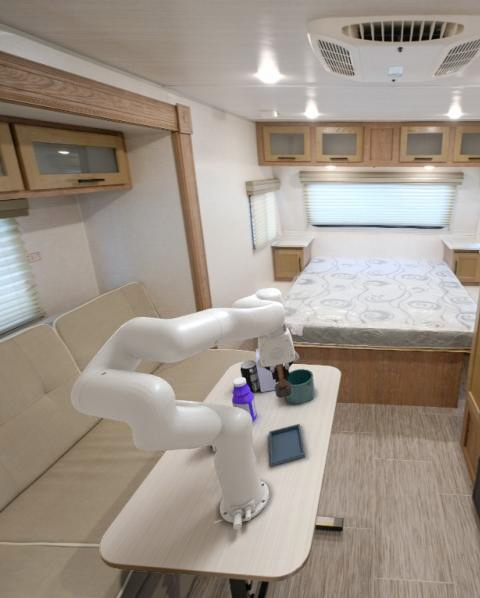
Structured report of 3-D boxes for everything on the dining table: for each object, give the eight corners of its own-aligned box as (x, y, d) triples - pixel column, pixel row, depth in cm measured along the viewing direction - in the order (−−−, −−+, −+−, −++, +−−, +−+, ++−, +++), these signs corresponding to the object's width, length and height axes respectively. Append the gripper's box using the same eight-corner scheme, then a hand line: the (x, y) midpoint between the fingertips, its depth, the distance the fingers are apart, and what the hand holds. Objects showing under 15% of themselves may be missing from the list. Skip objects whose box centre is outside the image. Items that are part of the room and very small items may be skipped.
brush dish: (305, 457, 110) (304, 453, 109) (271, 467, 106) (270, 462, 105) (300, 427, 122) (299, 423, 121) (269, 435, 118) (269, 431, 118)
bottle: (260, 415, 128) (253, 376, 121) (252, 425, 123) (244, 385, 116) (242, 413, 128) (233, 374, 122) (233, 424, 123) (224, 384, 117)
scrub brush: (292, 395, 110) (288, 367, 106) (276, 399, 109) (271, 370, 104) (291, 386, 115) (286, 358, 110) (275, 390, 113) (270, 362, 109)
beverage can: (245, 385, 145) (240, 361, 140) (262, 382, 146) (257, 358, 142) (243, 394, 139) (238, 369, 134) (261, 391, 141) (256, 367, 136)
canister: (317, 400, 136) (314, 381, 132) (287, 407, 132) (284, 388, 128) (312, 384, 145) (310, 366, 142) (285, 390, 141) (282, 372, 138)
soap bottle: (279, 389, 142) (271, 341, 133) (261, 392, 140) (252, 343, 131) (280, 377, 150) (272, 331, 141) (263, 380, 148) (254, 333, 139)
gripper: (243, 339, 96) (254, 392, 104) (302, 329, 102) (308, 380, 109) (244, 327, 103) (254, 378, 110) (299, 319, 108) (305, 367, 116)
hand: (281, 378), depth 110 cm, fingers closed on scrub brush, 2 cm apart
